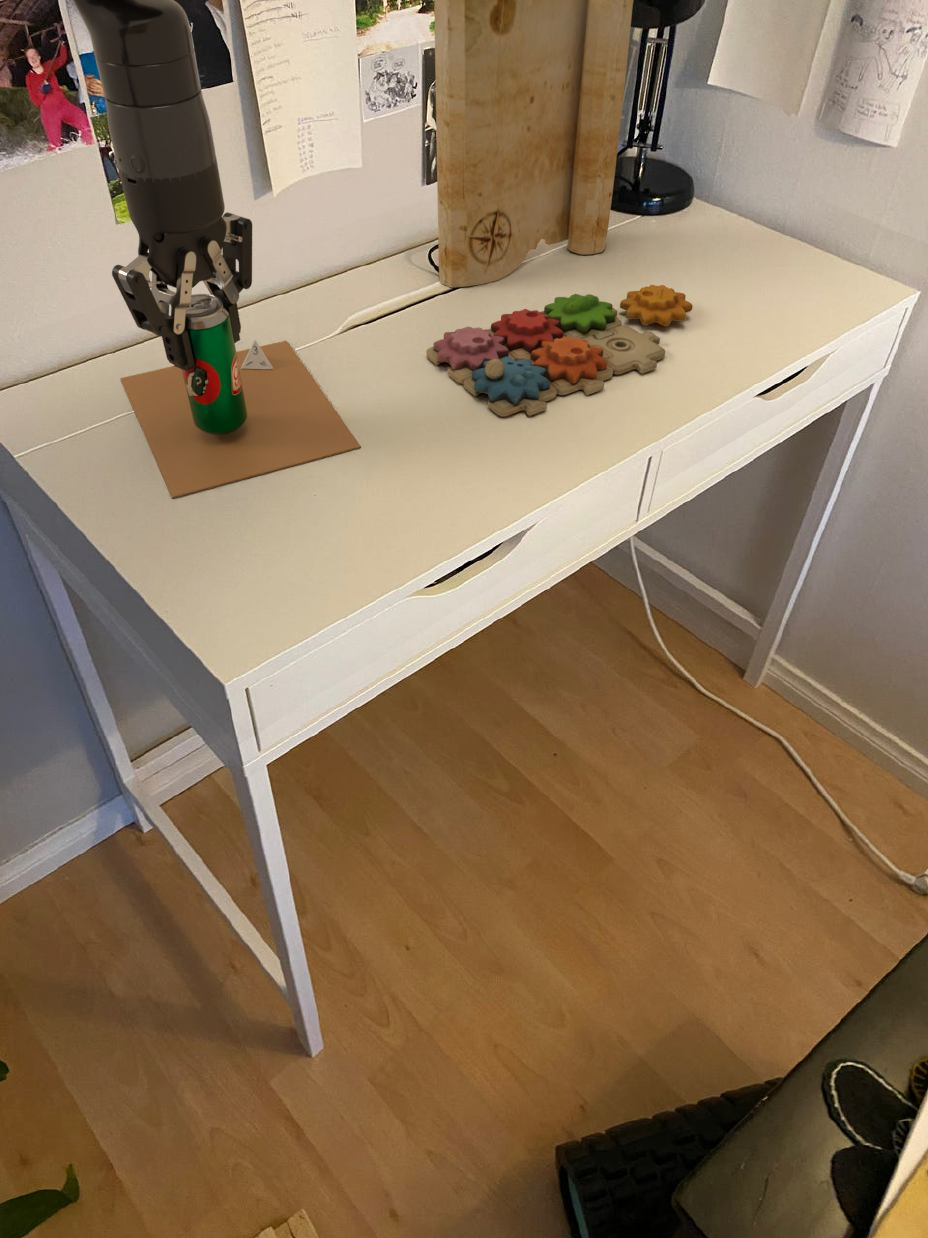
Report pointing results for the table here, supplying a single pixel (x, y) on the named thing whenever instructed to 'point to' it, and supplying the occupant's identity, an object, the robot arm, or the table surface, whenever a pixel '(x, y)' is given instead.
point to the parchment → (525, 128)
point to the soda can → (213, 368)
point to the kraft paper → (267, 441)
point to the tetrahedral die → (256, 359)
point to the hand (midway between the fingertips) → (206, 352)
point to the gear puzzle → (557, 348)
